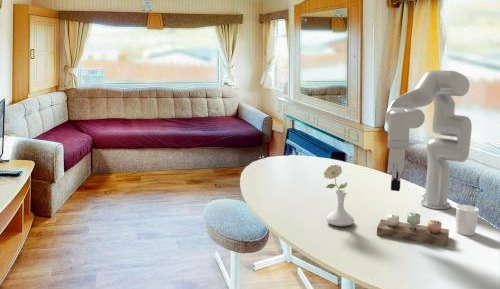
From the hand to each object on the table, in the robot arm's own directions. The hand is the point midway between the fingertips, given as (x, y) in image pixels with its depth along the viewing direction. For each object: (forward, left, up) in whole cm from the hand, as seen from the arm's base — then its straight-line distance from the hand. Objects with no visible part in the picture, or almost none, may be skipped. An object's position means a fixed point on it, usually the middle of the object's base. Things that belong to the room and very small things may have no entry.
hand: (395, 190), depth 167 cm
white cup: (+10, +27, -17) cm, 33 cm away
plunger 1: (0, 0, -17) cm, 17 cm away
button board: (+6, +5, -17) cm, 19 cm away
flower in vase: (-15, -15, -17) cm, 28 cm away
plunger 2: (+6, +5, -15) cm, 17 cm away
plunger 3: (+11, +10, -17) cm, 22 cm away
